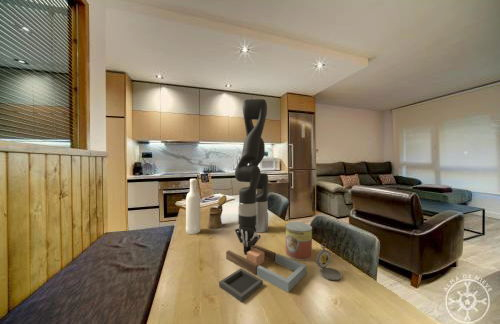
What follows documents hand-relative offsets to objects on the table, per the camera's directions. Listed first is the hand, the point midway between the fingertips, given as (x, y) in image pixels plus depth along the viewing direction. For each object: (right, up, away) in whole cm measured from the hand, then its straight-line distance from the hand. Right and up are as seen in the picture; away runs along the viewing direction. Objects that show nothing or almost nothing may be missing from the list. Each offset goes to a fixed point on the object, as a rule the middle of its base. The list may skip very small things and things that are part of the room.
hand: (247, 254), depth 77 cm
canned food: (+23, -2, +4) cm, 23 cm away
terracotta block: (+3, -2, -3) cm, 5 cm away
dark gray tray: (-2, -2, -17) cm, 17 cm away
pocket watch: (+30, -2, -10) cm, 32 cm away
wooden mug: (-19, -1, +39) cm, 43 cm away
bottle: (-31, -1, +28) cm, 42 cm away
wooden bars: (+2, -2, -1) cm, 3 cm away
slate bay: (+12, -2, -11) cm, 16 cm away
